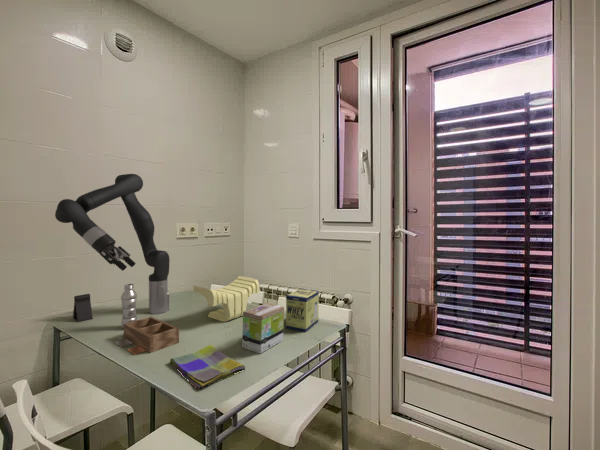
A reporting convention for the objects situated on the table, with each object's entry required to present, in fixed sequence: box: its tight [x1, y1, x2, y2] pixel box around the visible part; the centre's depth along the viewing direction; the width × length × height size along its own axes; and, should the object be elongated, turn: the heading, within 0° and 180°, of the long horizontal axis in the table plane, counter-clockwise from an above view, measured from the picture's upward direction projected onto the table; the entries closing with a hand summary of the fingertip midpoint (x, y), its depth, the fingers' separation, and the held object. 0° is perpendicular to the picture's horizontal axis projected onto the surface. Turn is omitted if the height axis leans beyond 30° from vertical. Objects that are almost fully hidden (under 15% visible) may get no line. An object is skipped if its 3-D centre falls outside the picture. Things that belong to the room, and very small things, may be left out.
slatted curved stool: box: [192, 275, 260, 323], centre depth 154 cm, size 30×16×18 cm, turn 144°
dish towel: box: [169, 344, 246, 390], centre depth 103 cm, size 18×24×3 cm
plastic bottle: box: [120, 283, 138, 329], centre depth 138 cm, size 6×7×20 cm
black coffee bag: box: [72, 293, 93, 323], centre depth 149 cm, size 9×6×12 cm, turn 51°
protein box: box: [285, 288, 320, 333], centre depth 142 cm, size 10×16×16 cm
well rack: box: [115, 316, 180, 356], centre depth 122 cm, size 16×23×6 cm
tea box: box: [241, 302, 285, 354], centre depth 121 cm, size 15×10×15 cm, turn 148°
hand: (129, 267), depth 123 cm, fingers open, 8 cm apart
